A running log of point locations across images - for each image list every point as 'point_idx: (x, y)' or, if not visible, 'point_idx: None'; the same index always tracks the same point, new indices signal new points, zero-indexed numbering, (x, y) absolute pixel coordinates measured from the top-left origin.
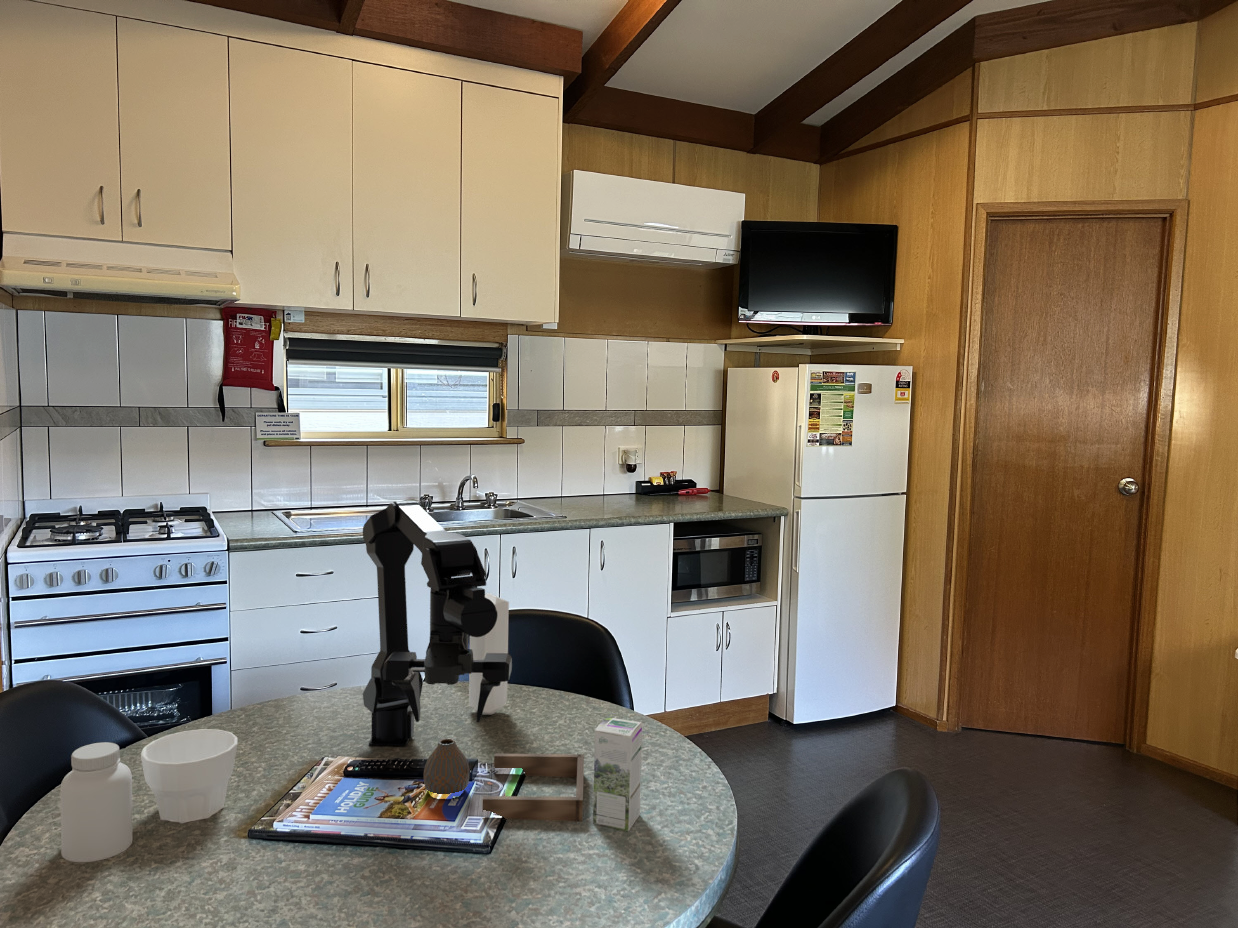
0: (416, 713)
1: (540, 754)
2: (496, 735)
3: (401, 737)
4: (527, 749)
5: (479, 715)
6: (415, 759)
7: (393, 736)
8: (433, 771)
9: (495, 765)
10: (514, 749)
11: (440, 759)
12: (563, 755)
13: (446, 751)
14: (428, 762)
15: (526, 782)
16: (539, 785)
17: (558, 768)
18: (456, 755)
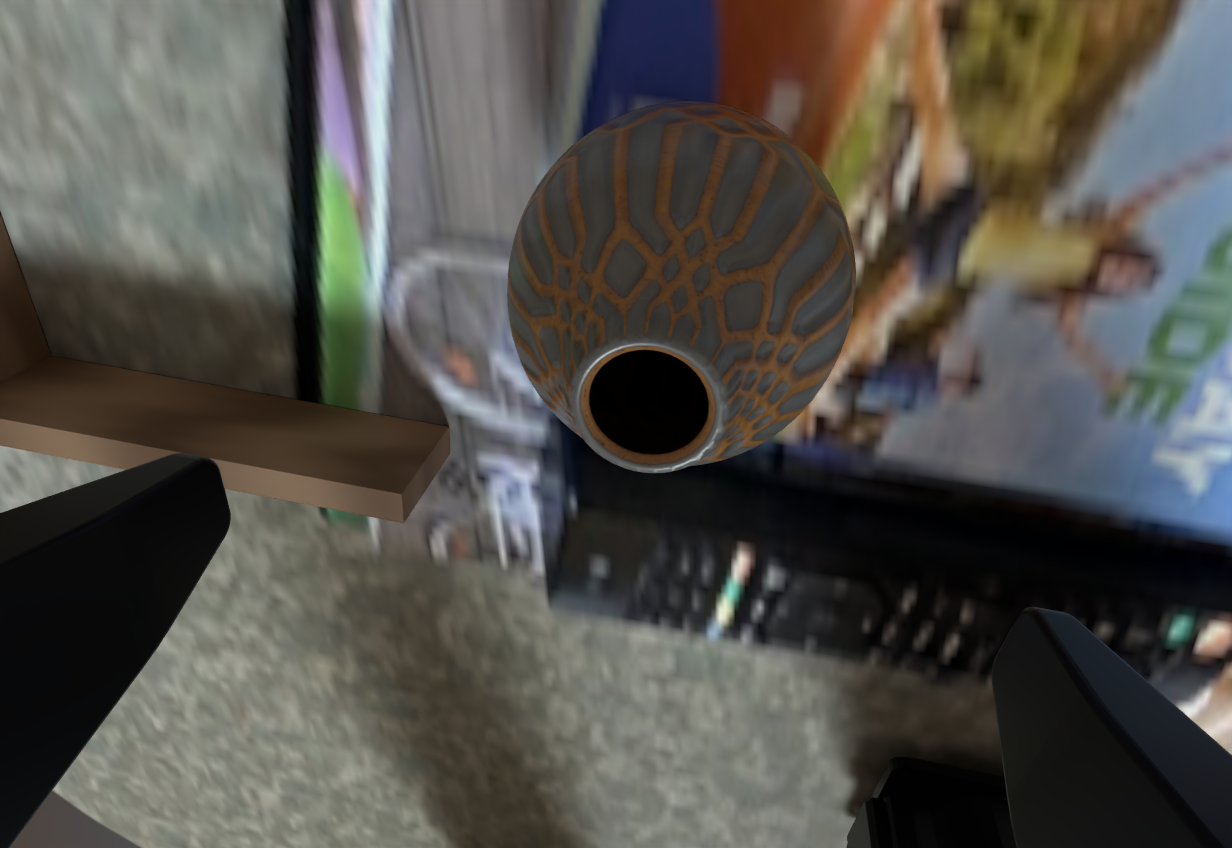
0: (1128, 706)
1: None
2: (491, 763)
3: (916, 807)
4: (344, 640)
5: (96, 495)
6: (848, 654)
7: (963, 816)
8: (785, 177)
9: (417, 458)
10: (399, 650)
11: (719, 232)
12: (29, 437)
13: (654, 282)
14: (829, 282)
15: (276, 343)
16: (203, 301)
17: (101, 393)
18: (566, 269)
